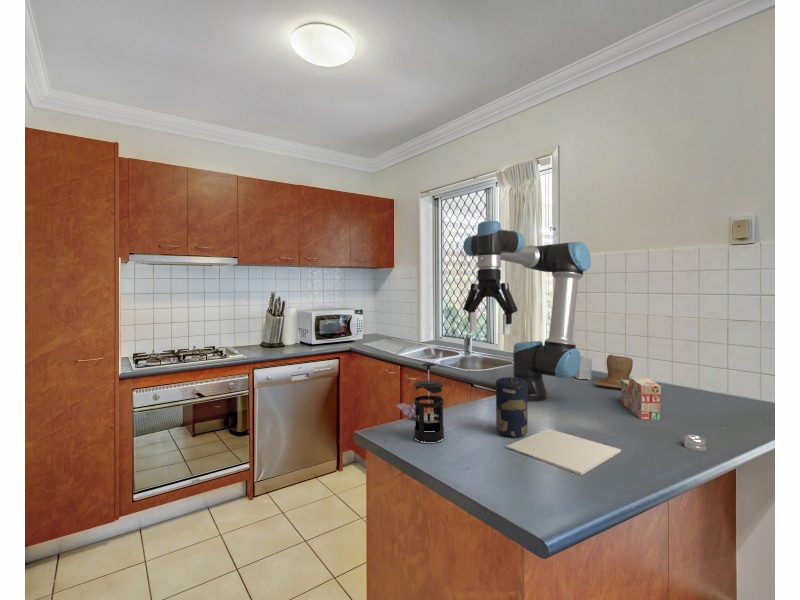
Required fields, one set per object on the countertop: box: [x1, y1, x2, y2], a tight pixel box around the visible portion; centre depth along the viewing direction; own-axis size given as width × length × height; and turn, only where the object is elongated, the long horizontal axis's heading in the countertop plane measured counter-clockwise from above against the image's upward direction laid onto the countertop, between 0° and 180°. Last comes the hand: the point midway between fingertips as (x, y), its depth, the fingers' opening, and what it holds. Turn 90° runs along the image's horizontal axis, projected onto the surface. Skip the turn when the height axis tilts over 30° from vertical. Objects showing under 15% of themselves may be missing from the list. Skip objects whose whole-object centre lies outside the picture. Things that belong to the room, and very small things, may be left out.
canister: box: [495, 376, 529, 438], centre depth 126 cm, size 10×10×18 cm
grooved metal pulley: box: [683, 434, 707, 452], centre depth 114 cm, size 5×3×5 cm
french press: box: [413, 362, 445, 442], centre depth 123 cm, size 12×9×23 cm
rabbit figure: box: [394, 402, 415, 418], centre depth 144 cm, size 6×6×15 cm
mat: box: [505, 428, 622, 476], centre depth 113 cm, size 22×22×1 cm
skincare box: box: [573, 355, 593, 381], centre depth 204 cm, size 10×6×10 cm, turn 179°
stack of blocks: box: [620, 376, 662, 421], centre depth 148 cm, size 21×6×12 cm, turn 168°
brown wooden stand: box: [594, 354, 634, 390], centre depth 183 cm, size 15×12×15 cm
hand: (489, 332), depth 133 cm, fingers open, 13 cm apart
